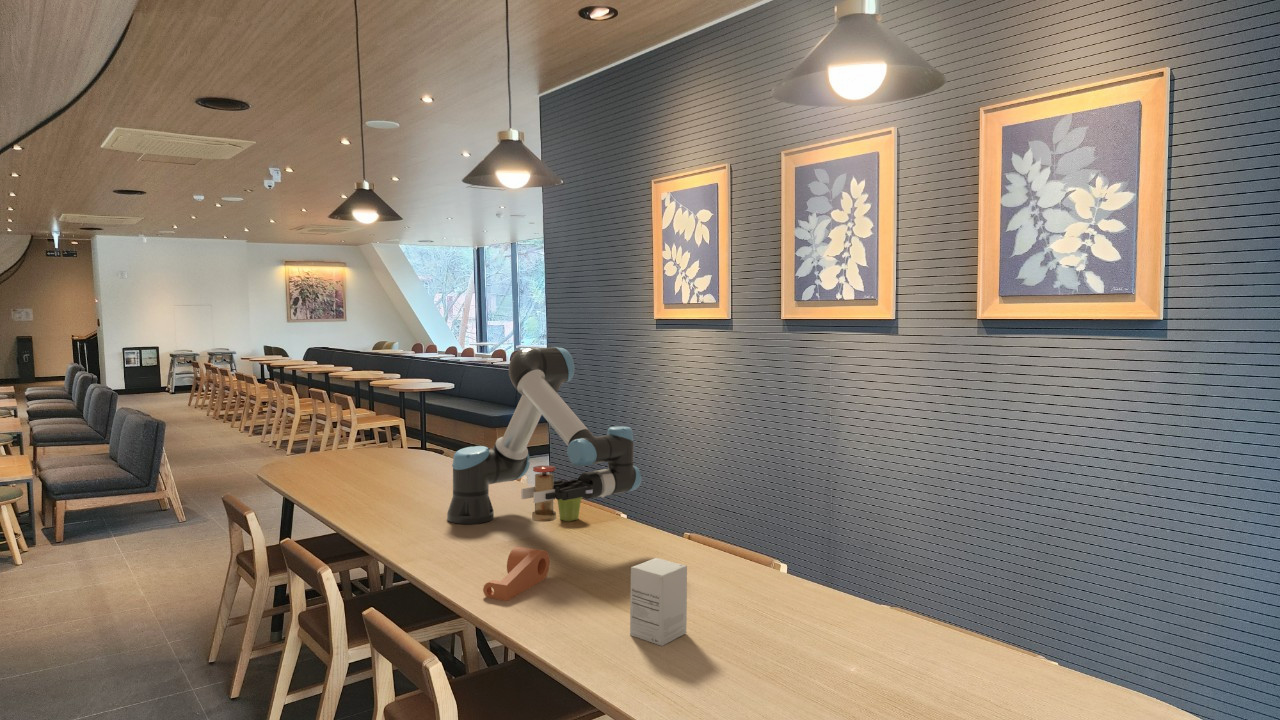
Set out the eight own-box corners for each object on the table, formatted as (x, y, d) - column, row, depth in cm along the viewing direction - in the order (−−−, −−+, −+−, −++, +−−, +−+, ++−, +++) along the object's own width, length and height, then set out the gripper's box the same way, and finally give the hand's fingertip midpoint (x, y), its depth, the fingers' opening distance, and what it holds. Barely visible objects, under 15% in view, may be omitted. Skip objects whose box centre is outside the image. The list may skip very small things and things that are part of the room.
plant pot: (581, 523, 257) (582, 496, 256) (553, 522, 257) (553, 496, 256) (584, 515, 266) (584, 490, 265) (556, 515, 266) (557, 490, 266)
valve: (527, 518, 212) (527, 467, 212) (546, 514, 217) (546, 464, 216) (541, 522, 208) (541, 470, 207) (560, 518, 212) (561, 467, 211)
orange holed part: (523, 572, 207) (523, 543, 206) (549, 577, 203) (549, 547, 203) (478, 596, 188) (478, 564, 188) (506, 601, 185) (506, 569, 185)
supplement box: (654, 622, 173) (655, 556, 173) (687, 633, 168) (688, 565, 167) (628, 635, 166) (629, 566, 166) (661, 647, 161) (662, 575, 160)
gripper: (615, 502, 218) (548, 516, 202) (575, 491, 231) (509, 503, 215) (616, 476, 217) (548, 487, 201) (575, 466, 230) (509, 476, 215)
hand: (528, 495), depth 208 cm, fingers closed on valve, 5 cm apart
